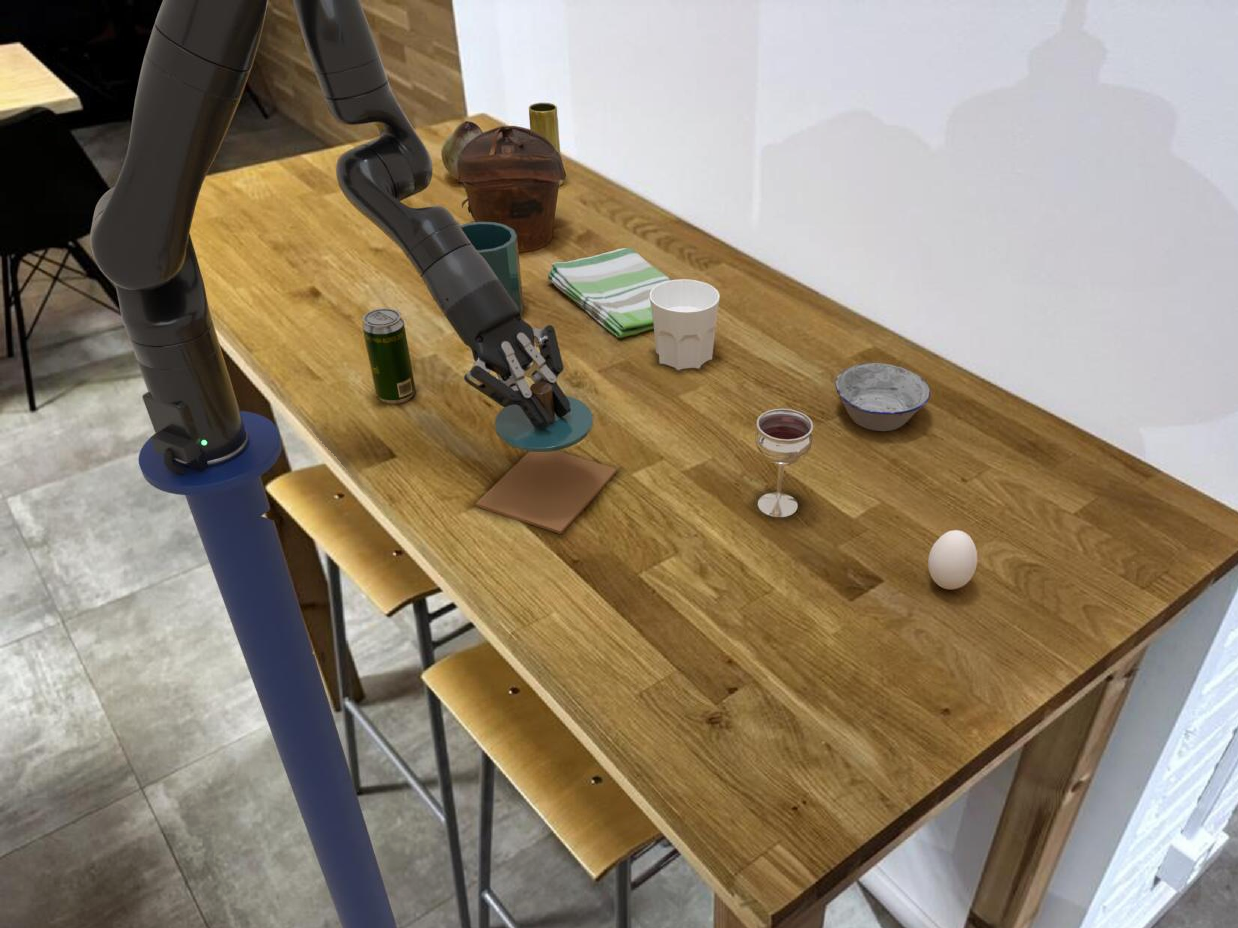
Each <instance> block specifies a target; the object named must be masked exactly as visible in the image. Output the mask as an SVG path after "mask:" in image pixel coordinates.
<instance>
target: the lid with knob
mask: <svg viewBox="0 0 1238 928" xmlns="http://www.w3.org/2000/svg"><path fill="white" fill-rule="evenodd" d="M529 388H530V390H531V392H532V397H533V396H536V398H537V399H538V400H539V402H540V403H541V405H542V406H543V408H544V409H545V411H546V412H547V414H548V415H549V416H550V418H551V420H552V423H551V424H550V425H549V426H547V427H546V428H544V429H543V430H540V429H539V428H538V427H535V426H534V425H532V423H531V422H530V420H529V419H528V417H527V416H526V414H525V413H524V412H523V410H522V409H521V407H520V406H518V405H508V406H507V407H502V408H501V409H500V410H499V411H498V412H497V414H496V416H495V420H494V429H495V433H496V435H497V437H498V438H499V439H500V440H501V441H502V442H503V443H504V444H506V445H507V446H509V447H512V448H514V449H517V450H519V451H520V450H521V451H525V452H529V451H530V452H550V451H560V450H564V449H567V448H570V447H573V446H575V445H576V444H578V443H580V442H582V441H583V440H585V438H586V437H588V436H589V434H590V433H591V431H592V429H593V426H594V415H593V413H592V411H591V409H590V407H589V406H588V405H587V404H586V403H584V402H583V401H581V400H579V399H577V398H575V397H572V396H570V395H566V394H565V396H566V397H567V399H568V400H569V403H570V406H569V407H570V409H571V411H570V412H569V413H567V414H566V415H565V416H563V417H561V418H559V417H558V416H557V415H556V414H555V412H554V402H553V390H552V386H551V384H549V383H547V382H537V383H535V382H534V383H532V384H531V385H530V386H529Z"/></svg>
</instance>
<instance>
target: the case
mask: <svg viewBox="0 0 1238 928" xmlns="http://www.w3.org/2000/svg"><path fill="white" fill-rule="evenodd" d="M457 177H458V179H459V180H460V181H463V182H462V185H463V188H464V191H465V194H466V197H467V198H466V199H464V200H463V201H462V202H461V208H462V209H463V207H464V206H465V204H466V203H467V204H468V205H467V206H468V207H467V212H468V213H470V215H471V217H472V219H473V222H495V223H499V224H504V225H507V226H508V227H510V228H512V229H514V231H515V233H516V235H517V242H518V253H526V252H530V251H534V250H538V249H540V248H542V247H544V246H546V245H548V243H550V241H551V240H552V238H553V237H554V231H555V228H554V227H555V217H556V211H557V202H558V194H559V188H560V186H559V183H560V181H559V180H560V179H561V180H564V181H565V180H566V178H567V173H566V170H565V166H564V162H563V158H562V155H561V156H560V154H559V153H558V152H557V150H555V148H554V146H553V145H552V144H551V143H550V142H549V141H548V140H547V139H546V138H545V137H544V136H542V135H541V134H539V133H537V132H535V131H533V130H530V128H526V127H522V126H518V125H505V126H504V125H502V126H497V127H495V128H491V129H489V130H487V131H486V130H485V131H484V132H483V133H482V134H480V135H478V136H477V137H475V138H474V139H473V140H471V141H470V142H469V143H468V144H467V145H466V146H465V147H464V149H462V151H461V152H460V154H459V155H458V157H457ZM460 181H459V182H460Z"/></svg>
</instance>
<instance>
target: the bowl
mask: <svg viewBox="0 0 1238 928" xmlns="http://www.w3.org/2000/svg"><path fill="white" fill-rule="evenodd" d="M834 388H835V389H836V393H837V395H838V396H839V399H841V401H842V403H843V406H844V408H845V410H846V412H847V414H848V415H849V417H850V419H851V420H852V421H853V422H854V423H855V424H856V425H858V426H860V427H861V428H864V429H866V430H867V429H868V430H871V431H875V432H889V431H894V430H897V429H900V428H901V427H903V426H904V425H905V424H907V422H908V421H909V420H911V418H912V417H913V416H914V415H915V414H916V413H917V412H918V411H919V410H920V409H922V408H923V407H924V406H925V405H926V404H927V403H928V401H929V400H930V397H931V389H930V387H929V384H928V382H926V380H925V381H924V379H923V378H922V377H921V376H920V375H918V374H916V373H915V372H913V371H911V370H908V369H906V368H904V367H902V366H897V365H894V364H889V363H881V362H868V363H862V364H857V365H853V366H851V367H849V368H847V369H845V370H843V371H842V372H841V373H839V374H837V375H836V377H835V379H834Z"/></svg>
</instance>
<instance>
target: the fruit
mask: <svg viewBox="0 0 1238 928" xmlns="http://www.w3.org/2000/svg"><path fill="white" fill-rule="evenodd" d="M482 133H484V132H483V130H482V129H481V128H480V126H479V125H478V124H477V123H475V122H473V121H468V120H466V121H465V120H464V121H461V122H460V124H458V125H457V126H456V127H455V128H454V130H453V132H452V133H451V135H449V136H448V137H446V139H445V141H444V143H443V145H442V148H441V150H440V151H441V153H440V156H441V161H442V163H443V166H444V168H445V170H446V171H447V172H448V173H449V176H451V177H452V178H453V179H454V180H456V181H458V182H460V183H463V181H460V180H459V179H458V177H457V157H458V155H459V154H460V152H461V151H462V149H464V147H465V146H466V145H467V144H468V143H469V142H470V141H471V140H473V139H474V138H475V137H477V136H478V135H480V134H482Z"/></svg>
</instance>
